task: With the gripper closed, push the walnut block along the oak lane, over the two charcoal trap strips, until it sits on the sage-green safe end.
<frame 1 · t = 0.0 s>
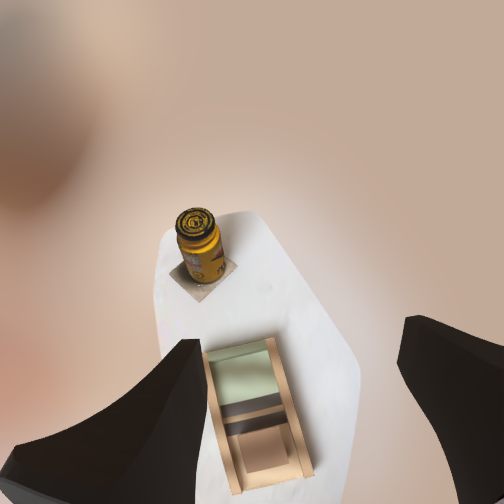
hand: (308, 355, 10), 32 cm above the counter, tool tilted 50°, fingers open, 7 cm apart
walnut block: (262, 448, 33), point 1 cm above the counter, touching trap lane
condiment: (202, 271, 49), on the counter
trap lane: (252, 410, 37), on the counter
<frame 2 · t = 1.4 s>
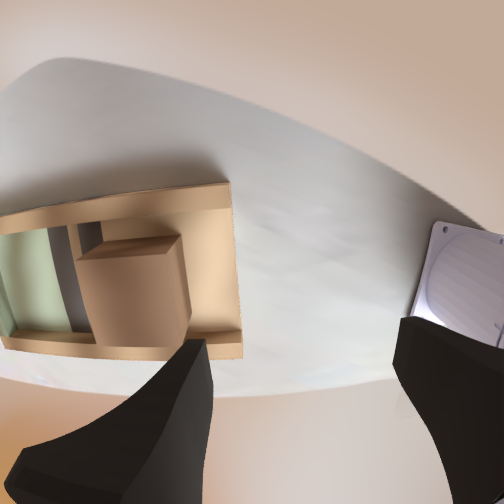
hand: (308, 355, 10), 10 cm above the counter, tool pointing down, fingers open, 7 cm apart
walnut block: (147, 277, 18), point 1 cm above the counter, touching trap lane
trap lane: (80, 275, 19), on the counter
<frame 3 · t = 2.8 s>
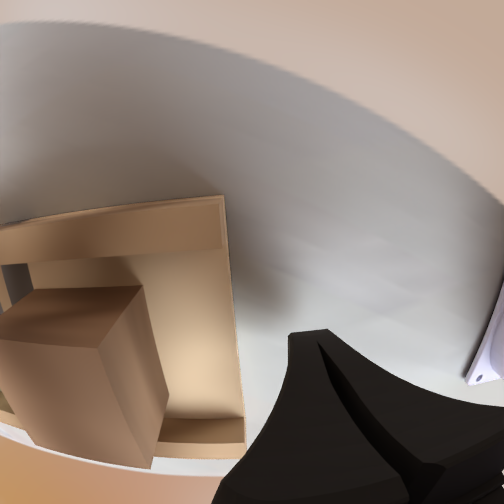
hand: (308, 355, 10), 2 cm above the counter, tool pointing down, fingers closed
walnut block: (99, 345, 11), point 1 cm above the counter, touching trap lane
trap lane: (19, 328, 12), on the counter
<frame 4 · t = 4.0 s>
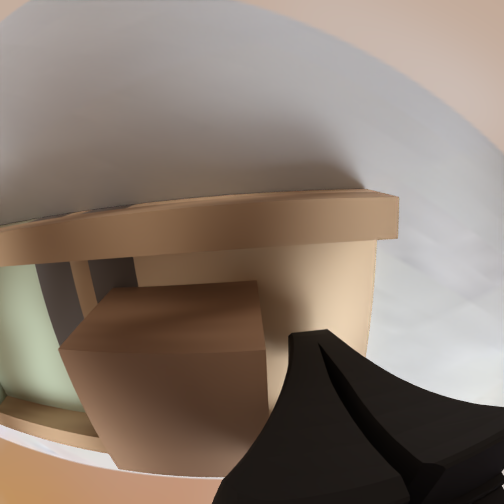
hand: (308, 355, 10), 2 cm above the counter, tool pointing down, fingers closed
walnut block: (191, 348, 11), point 1 cm above the counter
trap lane: (96, 334, 12), on the counter
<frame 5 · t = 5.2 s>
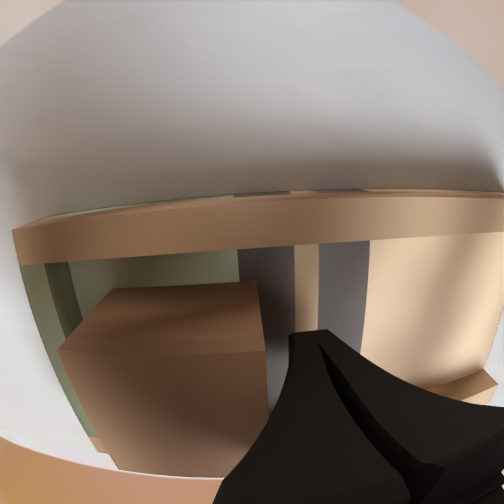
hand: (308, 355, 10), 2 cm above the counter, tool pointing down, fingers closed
walnut block: (191, 348, 11), point 1 cm above the counter, touching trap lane
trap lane: (283, 329, 12), on the counter
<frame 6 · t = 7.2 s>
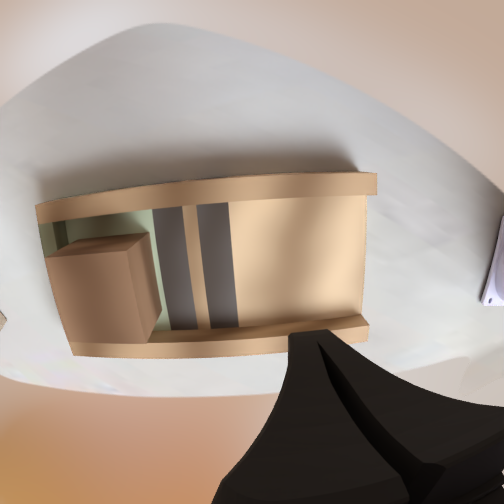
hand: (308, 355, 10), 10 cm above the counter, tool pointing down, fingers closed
walnut block: (118, 274, 18), point 1 cm above the counter, touching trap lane
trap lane: (187, 265, 19), on the counter
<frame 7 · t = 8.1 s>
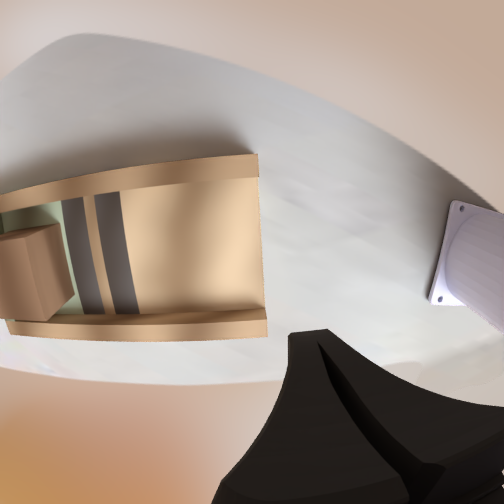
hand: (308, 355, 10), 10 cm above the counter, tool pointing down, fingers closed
walnut block: (40, 261, 18), point 1 cm above the counter, touching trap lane
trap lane: (95, 253, 19), on the counter
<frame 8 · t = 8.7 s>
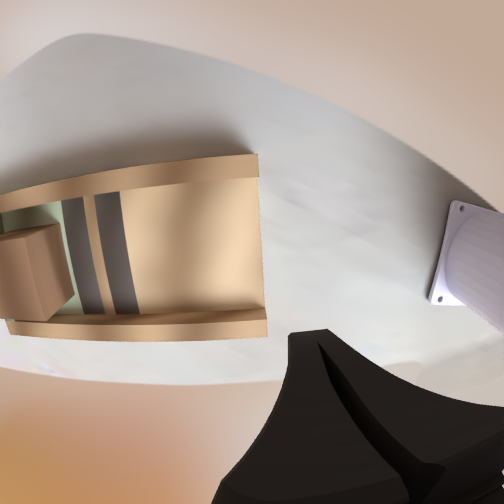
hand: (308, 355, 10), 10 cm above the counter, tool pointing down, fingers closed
walnut block: (40, 261, 18), point 1 cm above the counter, touching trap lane
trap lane: (95, 253, 19), on the counter
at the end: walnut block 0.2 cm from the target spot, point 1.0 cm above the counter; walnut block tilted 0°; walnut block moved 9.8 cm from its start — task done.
